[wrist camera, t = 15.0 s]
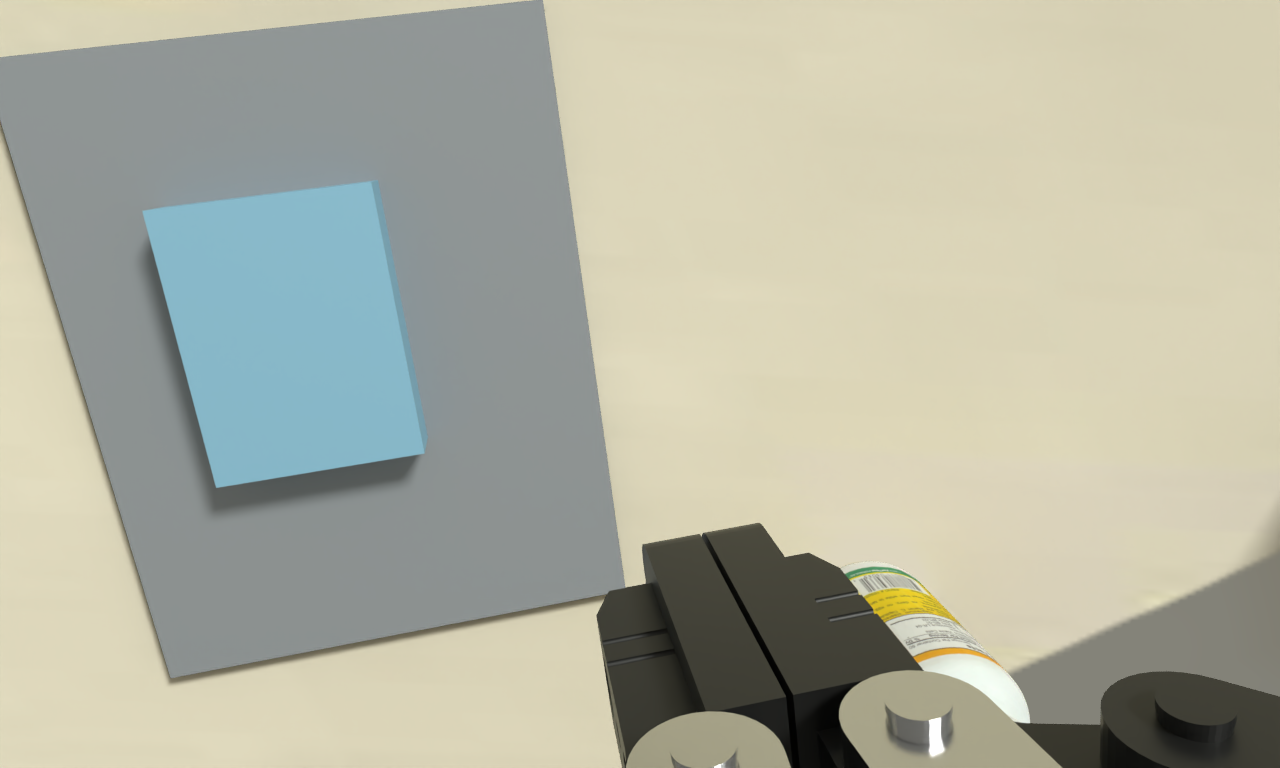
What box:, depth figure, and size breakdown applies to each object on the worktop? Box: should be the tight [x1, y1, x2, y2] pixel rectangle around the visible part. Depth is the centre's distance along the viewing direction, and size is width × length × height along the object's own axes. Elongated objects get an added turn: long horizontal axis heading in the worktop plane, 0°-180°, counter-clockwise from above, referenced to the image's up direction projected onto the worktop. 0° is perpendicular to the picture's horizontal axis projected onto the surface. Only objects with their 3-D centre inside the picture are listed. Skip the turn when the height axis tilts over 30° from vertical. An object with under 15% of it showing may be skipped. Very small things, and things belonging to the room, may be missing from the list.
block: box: [142, 180, 428, 488], centre depth 26 cm, size 2×8×6 cm
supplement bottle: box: [840, 561, 1030, 723], centre depth 29 cm, size 5×5×10 cm
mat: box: [0, 0, 625, 678], centre depth 28 cm, size 15×19×1 cm
